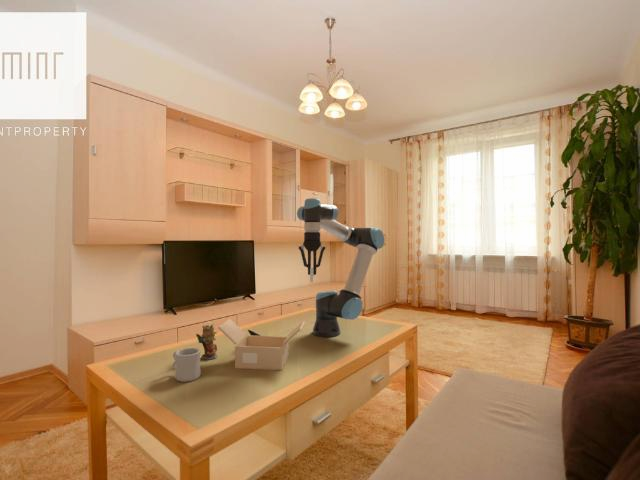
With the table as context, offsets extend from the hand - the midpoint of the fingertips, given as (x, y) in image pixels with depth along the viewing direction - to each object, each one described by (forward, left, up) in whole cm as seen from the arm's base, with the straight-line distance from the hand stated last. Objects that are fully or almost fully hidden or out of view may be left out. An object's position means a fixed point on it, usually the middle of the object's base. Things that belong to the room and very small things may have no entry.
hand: (312, 281), depth 158 cm
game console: (0, -21, -33) cm, 39 cm away
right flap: (+17, -10, -23) cm, 30 cm away
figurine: (+14, -45, -33) cm, 57 cm away
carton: (+17, -19, -32) cm, 41 cm away
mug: (+34, -45, -33) cm, 65 cm away
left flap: (+17, -28, -23) cm, 40 cm away
